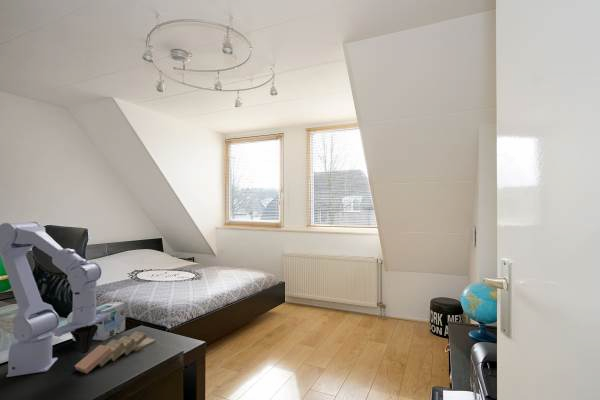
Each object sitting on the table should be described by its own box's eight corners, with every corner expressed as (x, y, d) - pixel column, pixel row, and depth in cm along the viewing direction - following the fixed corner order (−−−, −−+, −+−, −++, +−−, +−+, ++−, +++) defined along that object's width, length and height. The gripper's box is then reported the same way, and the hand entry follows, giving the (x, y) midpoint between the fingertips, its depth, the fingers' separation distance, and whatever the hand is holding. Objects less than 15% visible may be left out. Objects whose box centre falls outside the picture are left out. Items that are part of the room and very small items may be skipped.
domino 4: (124, 351, 99) (145, 333, 106) (114, 348, 102) (135, 331, 108) (126, 355, 100) (146, 337, 107) (116, 352, 102) (137, 334, 109)
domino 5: (135, 349, 103) (155, 339, 110) (125, 347, 105) (145, 337, 112) (135, 354, 103) (155, 344, 110) (125, 351, 105) (146, 341, 112)
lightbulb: (75, 337, 114) (75, 307, 114) (91, 337, 114) (91, 307, 114) (61, 344, 108) (62, 313, 108) (78, 344, 108) (79, 313, 108)
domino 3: (111, 357, 95) (133, 338, 102) (101, 354, 98) (123, 335, 104) (113, 361, 96) (135, 342, 103) (103, 358, 98) (125, 339, 105)
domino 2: (99, 362, 92) (122, 342, 99) (89, 359, 94) (112, 339, 101) (101, 366, 93) (124, 345, 99) (91, 363, 95) (114, 343, 101)
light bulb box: (103, 341, 111) (104, 310, 111) (87, 339, 112) (88, 309, 113) (126, 329, 121) (126, 302, 122) (111, 328, 123) (111, 301, 123)
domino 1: (84, 369, 88) (110, 347, 95) (74, 365, 90) (100, 344, 97) (86, 373, 89) (112, 351, 96) (76, 369, 91) (102, 348, 98)
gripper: (65, 315, 83) (64, 366, 82) (117, 300, 96) (116, 344, 95) (50, 311, 86) (49, 361, 85) (102, 297, 99) (102, 340, 98)
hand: (83, 352), depth 91 cm, fingers closed
